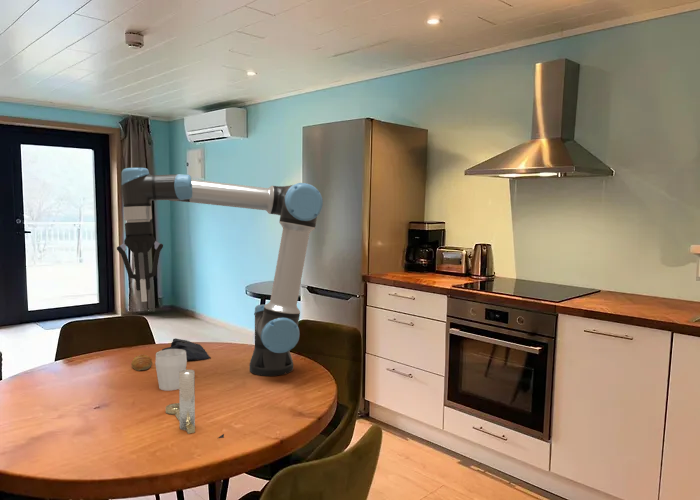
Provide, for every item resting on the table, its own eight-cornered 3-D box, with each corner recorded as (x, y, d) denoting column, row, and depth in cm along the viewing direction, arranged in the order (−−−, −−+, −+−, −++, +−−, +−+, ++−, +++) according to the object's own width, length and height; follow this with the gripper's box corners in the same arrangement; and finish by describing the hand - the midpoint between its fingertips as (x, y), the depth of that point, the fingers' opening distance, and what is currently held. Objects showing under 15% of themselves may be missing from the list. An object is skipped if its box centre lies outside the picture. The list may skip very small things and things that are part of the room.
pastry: (153, 370, 177) (153, 359, 177) (132, 373, 175) (132, 362, 174) (151, 363, 186) (151, 352, 186) (131, 365, 183) (130, 355, 183)
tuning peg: (163, 409, 139) (163, 358, 138) (182, 406, 141) (182, 356, 140) (181, 435, 123) (180, 377, 122) (202, 430, 126) (201, 374, 125)
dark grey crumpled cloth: (170, 365, 184) (170, 352, 184) (160, 350, 203) (160, 339, 203) (213, 360, 191) (213, 347, 191) (200, 346, 211) (200, 335, 210)
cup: (177, 397, 152) (176, 357, 151) (149, 395, 153) (149, 355, 152) (192, 387, 160) (192, 349, 159) (166, 385, 162) (165, 347, 161)
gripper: (161, 220, 157) (167, 297, 159) (115, 222, 152) (121, 301, 154) (162, 220, 150) (167, 300, 152) (113, 222, 145) (119, 305, 147)
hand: (144, 300), depth 153 cm, fingers closed
